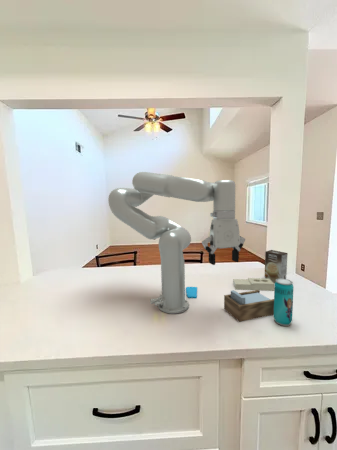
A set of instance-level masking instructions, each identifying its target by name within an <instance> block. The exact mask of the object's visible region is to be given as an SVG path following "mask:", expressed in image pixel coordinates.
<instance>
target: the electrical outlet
mask: <svg viewBox="0 0 337 450" xmlns="http://www.w3.org/2000/svg"><path fill="white" fill-rule="evenodd" d="M232 285H233V288H234V291H236V290H240V291H246V290H247V291H255V290H259V291H262V292H263V291H267V292H269V291H270V292H274V287H275V283H273V282H272V281H271V280H270V279H267V278H264V277H263V278H261V277H259V278H258V277H248V278H247V279H245V278H233V279H232Z"/></svg>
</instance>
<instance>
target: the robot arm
mask: <svg viewBox="0 0 337 450" xmlns="http://www.w3.org/2000/svg"><path fill="white" fill-rule="evenodd" d="M131 180H132V182H131V184H132V186H133V188H128V187H118V188H117V187H116V188H115V189H112V191H110V193H109V195H108V197H107V198H108V207H109V209H110V211H111V213H112V214H113V216H115V218H117V219H118V220H119V221H121V222H122V223H124V224H125V225H127V226H129V227H130V228H131V229H133V230H134V231H135V232H137V233H139V234H140V235H142V236H143V237H145V238H146V239H148V240H157V239H158V250H159V255H160V256H159V257H160V271H161V273H160V274H161V275H160V277H161V283H160V284H161V294H159V296H158V297H157V298H150V302H149V303H150V305H153V304H154V306H155V307H158V309H159V310H160V311H161V312H162V313H166V314H181V313H184V312H186V311H187V310H188V309H189V306H190V303H189V301H187V299H186V287H185V285H186V281H185V280H186V275H185V273H186V271H185V270H186V269H185V268H186V267H185V266H186V264H185V258H184V257H185V256H184V250H185V249H187V248H188V247H189V246H190V244H191V242H192V236H191V234H190V232H189V231H188V230H187V229H186V228H184V227H183V226H181V225H180V224H178V223H177V222H175V221H173V220H171V219H170V218H168V217H166V216H164V215H163V216H162V215H155V216H153V215H149V214H148V213H146V212H145V211H143V210H142V209H140V208H137V207H139V206H141V205H142V204H144V203H145V202H147V201H148V200H149V199H151V198H152V197H153V196H161V197H165V198H173V199H180V200H184V201H185V200H186V201H191V202H196V203H208V202H213V204H212V206H213V207H212V208H213V210H212V212H210V215H209V216H210V217H212V220H211V222H210V226H209V227H210V229H209V236H208V237H207V238H205V239H203V240H202V241H201V244H202V247H203V249H204V250H206V252H207V253H208V263H209V264H211V265H212V266H215V265H216V254H215V252H216V251H217V249H229V248H230V249H231V248H232V250H231V261H233V262H235V263H239V259H240V255H239V254H240V252H241V249H242V248H243V247H244V243H245V241H246V238H245V237H243V236H241V235H240V226H239V221H238V219H237V218H236V183H235V181H234V180H232V179H220V180H216V181H214V182H211V181H206V180H203V179H197V178H190V177H182V176H174V175H172V174H171V175H170V174H161V173H154V172H148V171H139V172H137V173H135V175H134V176H133V177H132V179H131ZM208 244H209V245H208Z"/></svg>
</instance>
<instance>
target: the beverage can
mask: <svg viewBox="0 0 337 450" xmlns="http://www.w3.org/2000/svg"><path fill="white" fill-rule="evenodd" d="M293 284H294V283H293V281H292V280H290V279H287V278H286V279H276V282H275V283H274V291H273V295H274V296H273V299H274V315H273V320H274V322H275V323H276V324H277V325H279V326H283V327H288V326H290V325H291V324H292V321H293V309H294V307H293V306H294V285H293Z"/></svg>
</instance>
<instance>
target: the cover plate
mask: <svg viewBox="0 0 337 450" xmlns="http://www.w3.org/2000/svg"><path fill="white" fill-rule="evenodd" d="M239 293H240V292H237V291H236V290H235V289H234V290H233V289H232V290H230V294H231V299H233V300H234V301H235V302H237V303H238V304H240V305H243V304H249V303H254V302H260V301H266V300H271V298H268V297H267V296H265V295H264V294H261V293H252V294H246V295H240V294H239Z"/></svg>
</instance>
